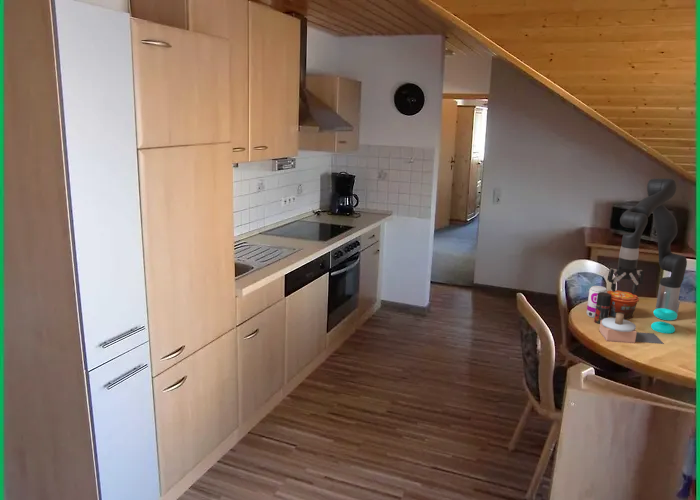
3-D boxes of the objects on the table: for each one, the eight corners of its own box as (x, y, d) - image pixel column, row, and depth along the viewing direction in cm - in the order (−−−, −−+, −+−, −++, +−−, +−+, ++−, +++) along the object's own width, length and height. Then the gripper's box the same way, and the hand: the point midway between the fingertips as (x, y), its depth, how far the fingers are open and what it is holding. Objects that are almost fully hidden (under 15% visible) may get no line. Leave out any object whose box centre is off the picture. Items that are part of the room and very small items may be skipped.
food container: (642, 320, 275) (645, 300, 272) (609, 319, 275) (612, 299, 272) (627, 309, 290) (630, 290, 287) (596, 308, 290) (599, 289, 288)
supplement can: (602, 320, 274) (606, 291, 270) (584, 316, 278) (588, 288, 274) (604, 315, 281) (608, 287, 277) (587, 311, 285) (591, 284, 281)
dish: (625, 333, 257) (627, 321, 256) (634, 344, 246) (636, 331, 244) (598, 331, 259) (600, 320, 257) (606, 342, 247) (608, 329, 246)
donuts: (657, 305, 267) (680, 311, 260) (653, 325, 269) (676, 330, 262) (651, 310, 259) (674, 316, 253) (647, 330, 262) (671, 336, 255)
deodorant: (608, 326, 266) (612, 296, 263) (595, 324, 268) (599, 295, 264) (605, 321, 272) (609, 292, 268) (592, 320, 273) (596, 291, 269)
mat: (653, 334, 257) (653, 333, 257) (663, 344, 246) (664, 343, 246) (626, 332, 259) (626, 331, 259) (635, 342, 247) (635, 341, 247)
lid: (629, 321, 257) (631, 310, 255) (640, 332, 243) (642, 321, 242) (597, 319, 258) (599, 307, 257) (606, 330, 245) (608, 318, 244)
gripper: (642, 255, 245) (637, 290, 249) (608, 253, 247) (604, 288, 251) (648, 260, 238) (643, 295, 242) (614, 258, 240) (609, 293, 244)
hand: (623, 291), depth 247 cm, fingers open, 8 cm apart
